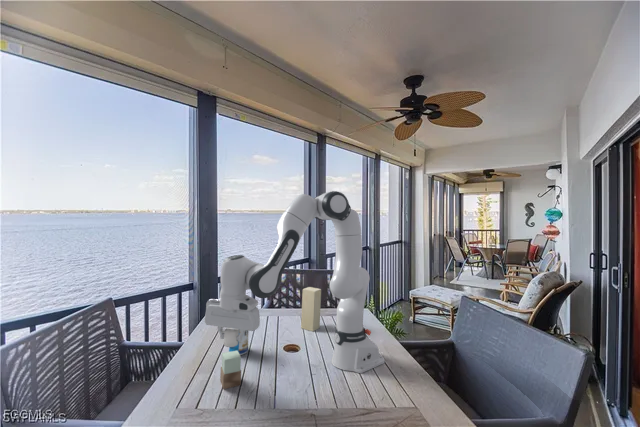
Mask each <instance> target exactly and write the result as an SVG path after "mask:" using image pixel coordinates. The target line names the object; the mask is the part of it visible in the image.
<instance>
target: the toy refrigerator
mask: <svg viewBox="0 0 640 427" xmlns="http://www.w3.org/2000/svg"><path fill="white" fill-rule="evenodd" d="M321 301H322V289H321V288H317V287H313V286H307V287H305V288H303V289H302V299H301V317H300V318H301V319H300V320H301V321H300V322H301V323H300V326H301V327H300V328H301V329H302V330H306V331H309V332H315V331H317V330H319V329H320V327H321V326H320V325H321V304H322V302H321Z"/></svg>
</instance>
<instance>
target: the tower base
mask: <svg viewBox="0 0 640 427" xmlns="http://www.w3.org/2000/svg"><path fill="white" fill-rule="evenodd" d="M219 377H220V378H219V380H220V384H221V387H222V389H223V390H226V389H230V388H235V387H238V386H241V385H242V384H241V383H242V370H241V369H240V371H238V372H233V373H228V374H224V372H223V369H222V366H220V375H219Z"/></svg>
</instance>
